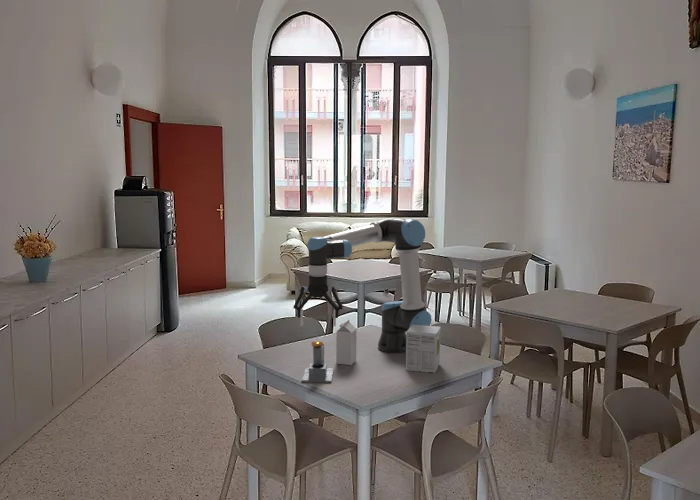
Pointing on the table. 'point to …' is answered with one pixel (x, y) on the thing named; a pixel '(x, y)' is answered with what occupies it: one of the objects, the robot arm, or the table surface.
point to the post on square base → (318, 372)
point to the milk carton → (346, 344)
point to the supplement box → (423, 348)
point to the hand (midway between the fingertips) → (318, 325)
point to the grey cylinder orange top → (317, 354)
